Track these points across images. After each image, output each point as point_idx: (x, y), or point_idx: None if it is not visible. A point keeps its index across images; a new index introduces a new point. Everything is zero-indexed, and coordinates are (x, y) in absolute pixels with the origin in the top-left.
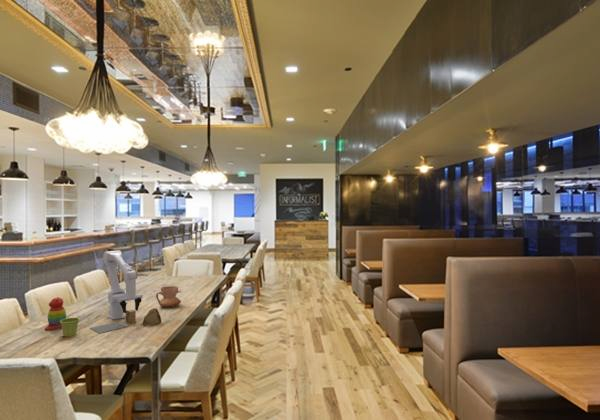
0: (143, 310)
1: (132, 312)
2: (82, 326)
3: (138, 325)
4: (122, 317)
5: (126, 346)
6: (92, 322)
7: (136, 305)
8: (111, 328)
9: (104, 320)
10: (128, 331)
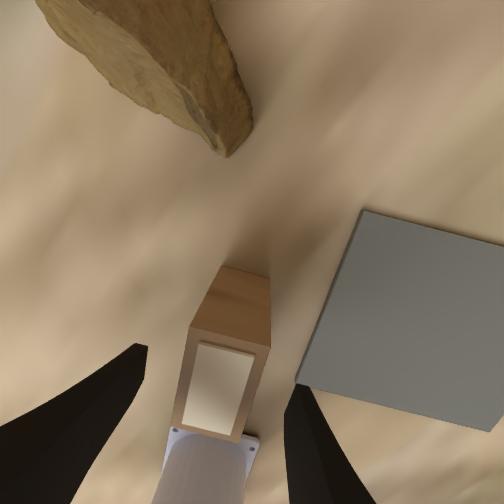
0: None
1: (237, 330)
2: (449, 489)
3: (282, 153)
4: None
5: None
6: None
7: (95, 428)
8: (466, 289)
9: None
10: (493, 64)
